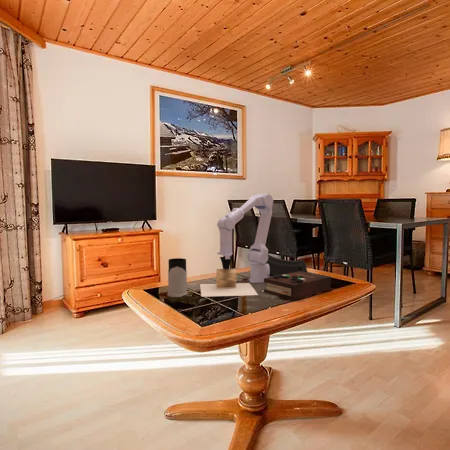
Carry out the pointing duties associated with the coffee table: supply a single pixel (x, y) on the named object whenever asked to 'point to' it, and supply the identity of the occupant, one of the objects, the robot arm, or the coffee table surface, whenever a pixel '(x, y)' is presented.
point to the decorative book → (297, 284)
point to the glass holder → (177, 277)
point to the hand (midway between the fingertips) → (226, 272)
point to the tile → (226, 277)
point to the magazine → (285, 266)
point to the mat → (227, 290)
